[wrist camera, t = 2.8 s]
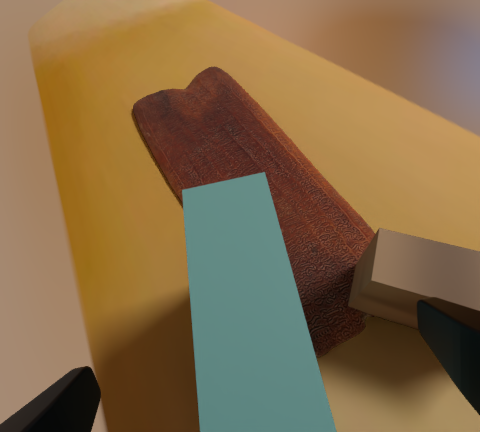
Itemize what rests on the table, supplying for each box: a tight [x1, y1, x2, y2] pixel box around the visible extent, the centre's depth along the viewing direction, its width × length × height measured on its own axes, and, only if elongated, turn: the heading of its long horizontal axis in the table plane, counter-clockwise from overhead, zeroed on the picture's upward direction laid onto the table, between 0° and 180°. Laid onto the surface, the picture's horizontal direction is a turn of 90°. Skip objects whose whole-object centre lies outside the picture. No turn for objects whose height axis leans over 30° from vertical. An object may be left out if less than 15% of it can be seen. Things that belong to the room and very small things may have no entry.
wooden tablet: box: [133, 67, 375, 357], centre depth 21 cm, size 27×10×2 cm, turn 29°
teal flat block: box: [182, 172, 337, 432], centre depth 11 cm, size 9×3×9 cm, turn 10°
